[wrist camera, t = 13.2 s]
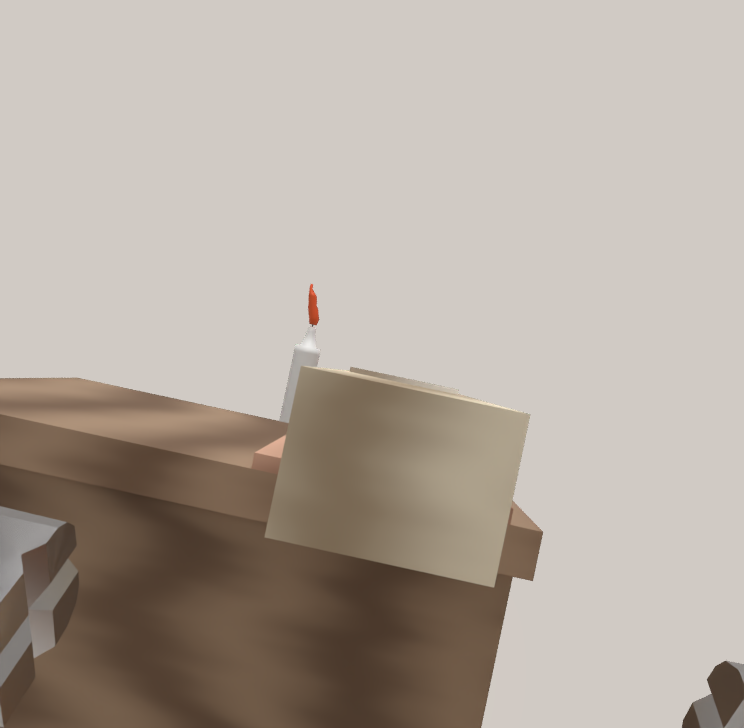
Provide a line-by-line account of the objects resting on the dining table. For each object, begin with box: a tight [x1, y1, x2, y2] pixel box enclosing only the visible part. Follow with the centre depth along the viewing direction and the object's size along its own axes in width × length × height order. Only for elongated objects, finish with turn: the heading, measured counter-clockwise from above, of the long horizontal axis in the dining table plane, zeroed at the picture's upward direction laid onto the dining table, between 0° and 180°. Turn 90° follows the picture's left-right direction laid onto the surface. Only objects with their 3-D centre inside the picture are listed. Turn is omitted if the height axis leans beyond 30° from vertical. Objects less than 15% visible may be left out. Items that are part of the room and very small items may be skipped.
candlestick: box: [279, 284, 320, 423], centre depth 51 cm, size 11×11×35 cm
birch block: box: [265, 366, 530, 588], centre depth 24 cm, size 4×24×3 cm, turn 178°
